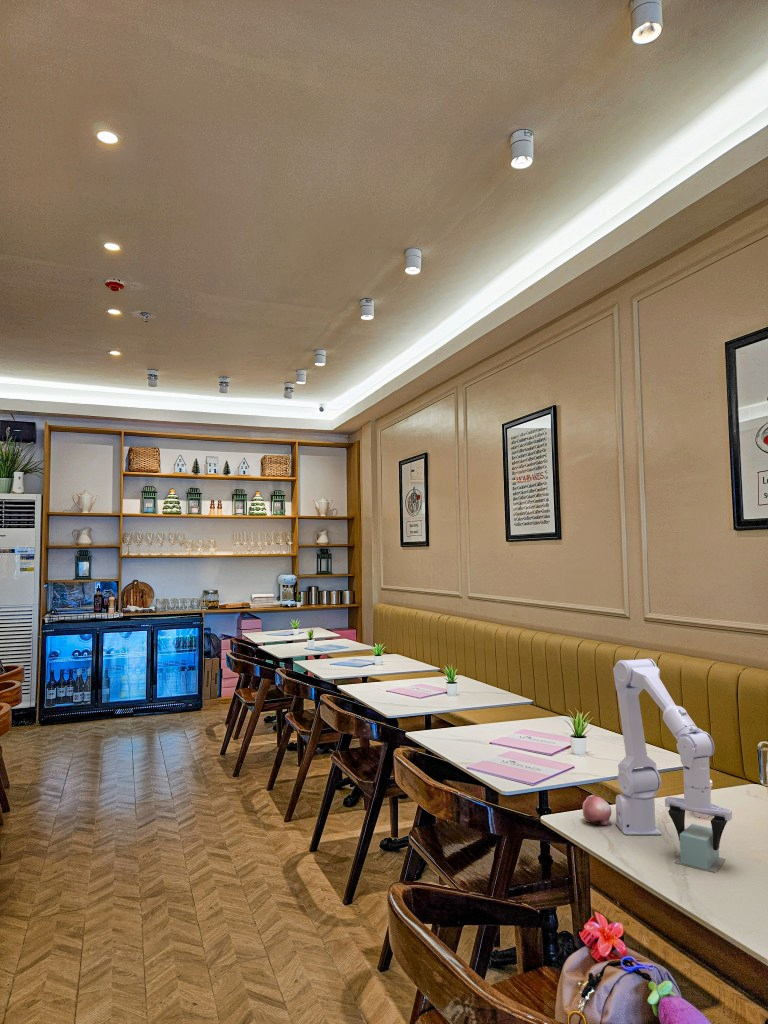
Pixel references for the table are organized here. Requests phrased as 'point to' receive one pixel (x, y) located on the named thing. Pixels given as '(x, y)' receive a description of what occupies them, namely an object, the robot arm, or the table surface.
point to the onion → (596, 810)
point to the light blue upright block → (698, 847)
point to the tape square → (713, 868)
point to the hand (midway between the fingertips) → (698, 844)
